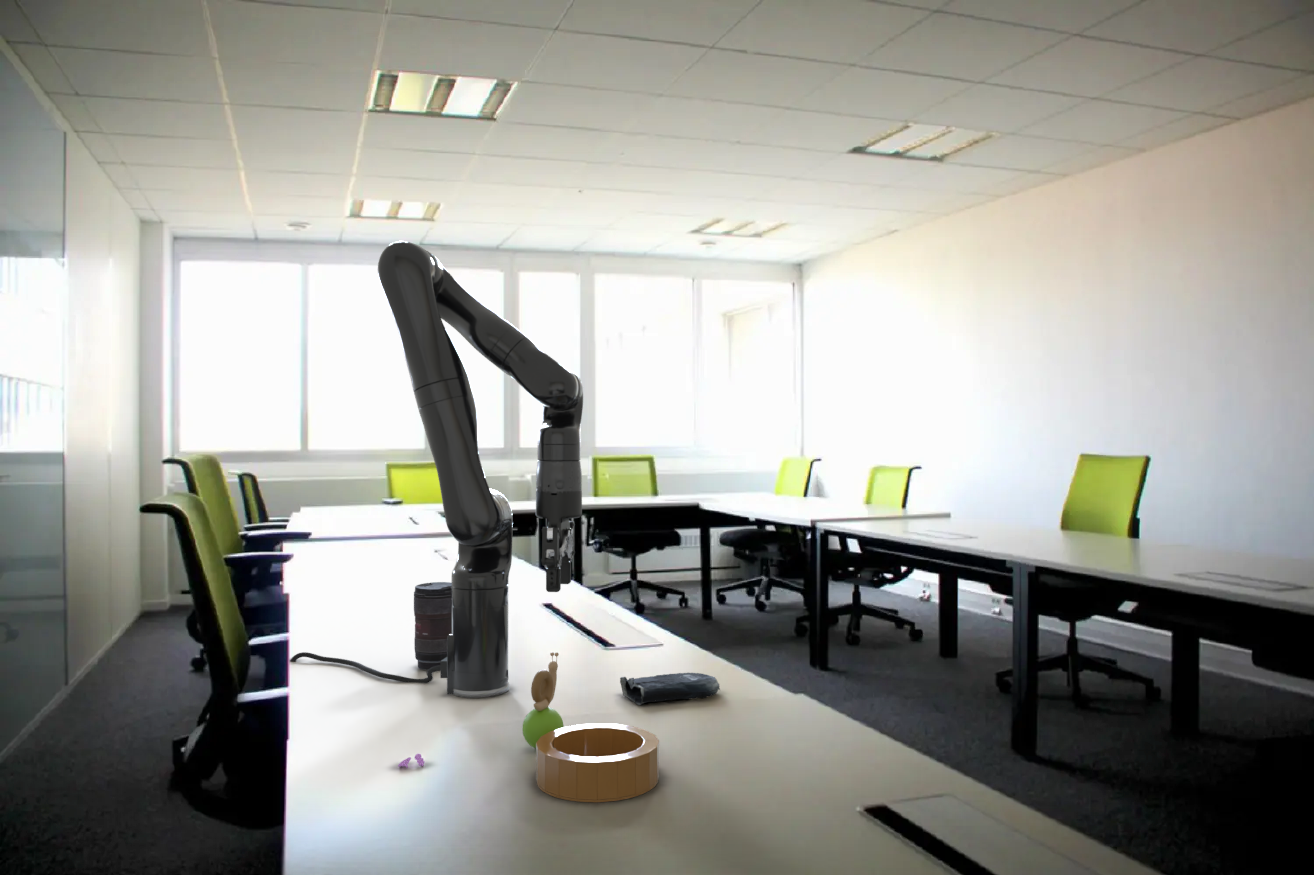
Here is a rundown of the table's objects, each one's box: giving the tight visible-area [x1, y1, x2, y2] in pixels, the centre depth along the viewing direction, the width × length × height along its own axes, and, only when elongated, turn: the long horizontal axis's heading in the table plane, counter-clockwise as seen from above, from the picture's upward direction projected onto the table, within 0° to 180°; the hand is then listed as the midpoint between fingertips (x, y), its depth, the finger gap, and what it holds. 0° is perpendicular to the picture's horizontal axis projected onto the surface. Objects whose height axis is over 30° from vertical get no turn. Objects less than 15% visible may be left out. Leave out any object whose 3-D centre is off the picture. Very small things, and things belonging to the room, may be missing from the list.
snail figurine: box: [521, 651, 565, 749], centre depth 121 cm, size 5×6×12 cm
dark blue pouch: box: [619, 672, 721, 706], centre depth 147 cm, size 9×6×15 cm
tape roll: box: [535, 723, 660, 803], centre depth 109 cm, size 15×15×4 cm
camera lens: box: [413, 581, 452, 671], centre depth 167 cm, size 8×8×15 cm
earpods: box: [397, 753, 425, 768], centre depth 114 cm, size 3×2×2 cm
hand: (558, 587), depth 149 cm, fingers open, 8 cm apart
